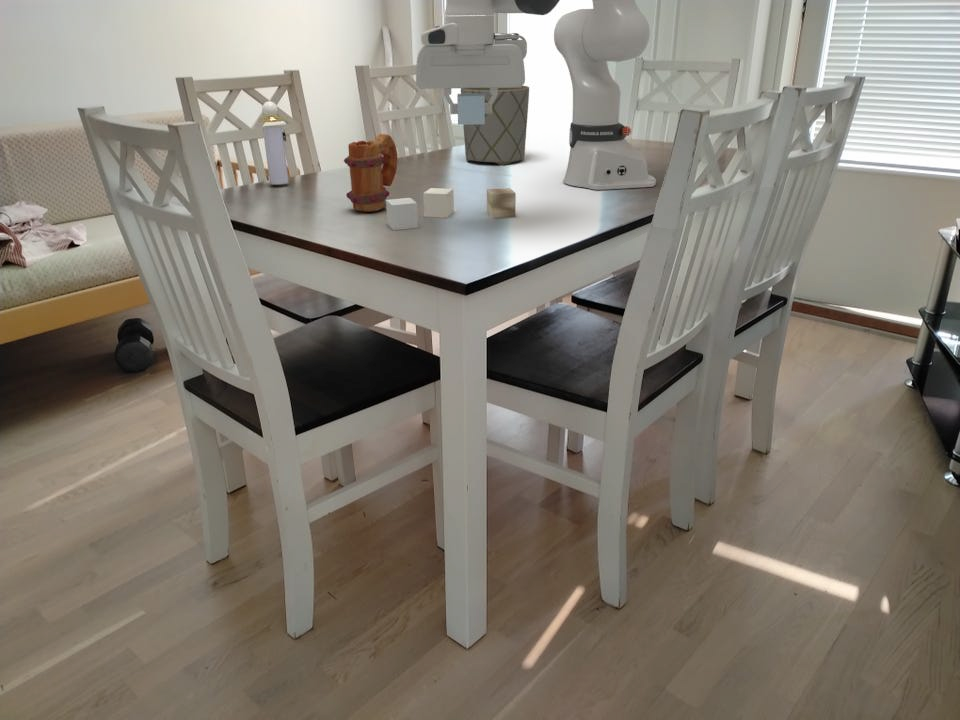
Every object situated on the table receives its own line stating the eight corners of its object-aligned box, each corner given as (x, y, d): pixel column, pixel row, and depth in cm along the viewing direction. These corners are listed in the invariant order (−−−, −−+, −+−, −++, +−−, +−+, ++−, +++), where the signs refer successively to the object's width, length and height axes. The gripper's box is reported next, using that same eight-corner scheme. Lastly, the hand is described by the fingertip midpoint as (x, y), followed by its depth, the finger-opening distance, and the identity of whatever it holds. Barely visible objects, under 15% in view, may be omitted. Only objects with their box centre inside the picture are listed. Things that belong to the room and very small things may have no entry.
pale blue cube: (484, 120, 141) (483, 93, 139) (484, 124, 137) (484, 95, 135) (458, 121, 141) (457, 93, 139) (458, 124, 137) (457, 96, 135)
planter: (539, 158, 214) (541, 85, 206) (506, 169, 200) (507, 91, 191) (484, 153, 223) (484, 83, 215) (449, 162, 209) (447, 88, 200)
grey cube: (411, 222, 149) (410, 197, 147) (418, 228, 145) (417, 202, 143) (387, 224, 148) (385, 199, 145) (393, 230, 143) (392, 205, 141)
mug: (369, 216, 153) (363, 142, 147) (340, 212, 157) (333, 140, 151) (411, 202, 164) (407, 133, 158) (383, 198, 168) (378, 131, 162)
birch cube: (509, 211, 156) (509, 188, 154) (515, 217, 152) (515, 193, 150) (486, 212, 155) (486, 189, 153) (491, 218, 151) (491, 194, 149)
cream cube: (453, 212, 156) (453, 189, 154) (447, 218, 152) (446, 194, 150) (431, 211, 157) (430, 188, 155) (424, 217, 153) (423, 193, 151)
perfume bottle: (276, 189, 179) (265, 103, 171) (263, 185, 183) (251, 101, 174) (296, 185, 183) (286, 101, 175) (283, 182, 187) (272, 99, 178)
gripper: (525, 32, 135) (524, 110, 141) (415, 33, 135) (418, 112, 141) (528, 33, 130) (527, 114, 136) (412, 34, 129) (416, 116, 135)
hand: (471, 113), depth 138 cm, fingers closed on pale blue cube, 5 cm apart
